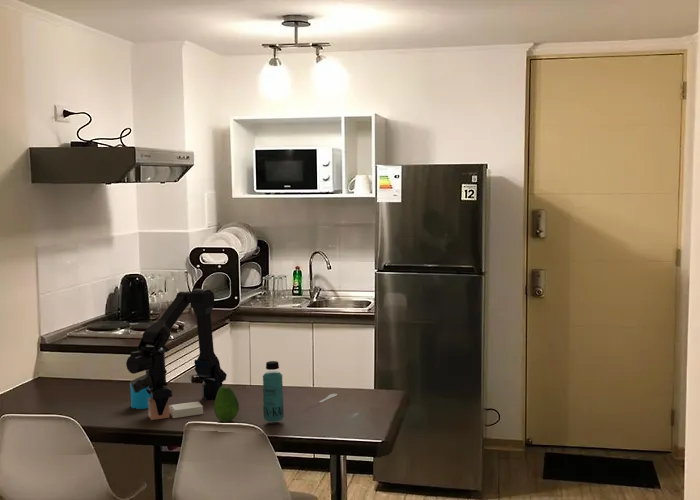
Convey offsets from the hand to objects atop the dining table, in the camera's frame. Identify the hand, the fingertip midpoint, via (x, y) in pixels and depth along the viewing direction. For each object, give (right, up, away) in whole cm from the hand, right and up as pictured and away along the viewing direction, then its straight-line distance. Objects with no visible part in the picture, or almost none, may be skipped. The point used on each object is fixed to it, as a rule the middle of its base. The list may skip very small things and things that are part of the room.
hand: (158, 413), depth 265 cm
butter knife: (+53, +1, +12) cm, 54 cm away
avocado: (+24, -2, -7) cm, 25 cm away
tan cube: (0, -1, 0) cm, 1 cm away
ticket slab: (+8, -1, +4) cm, 9 cm away
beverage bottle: (+39, -1, -10) cm, 41 cm away
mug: (-8, 0, +16) cm, 18 cm away
